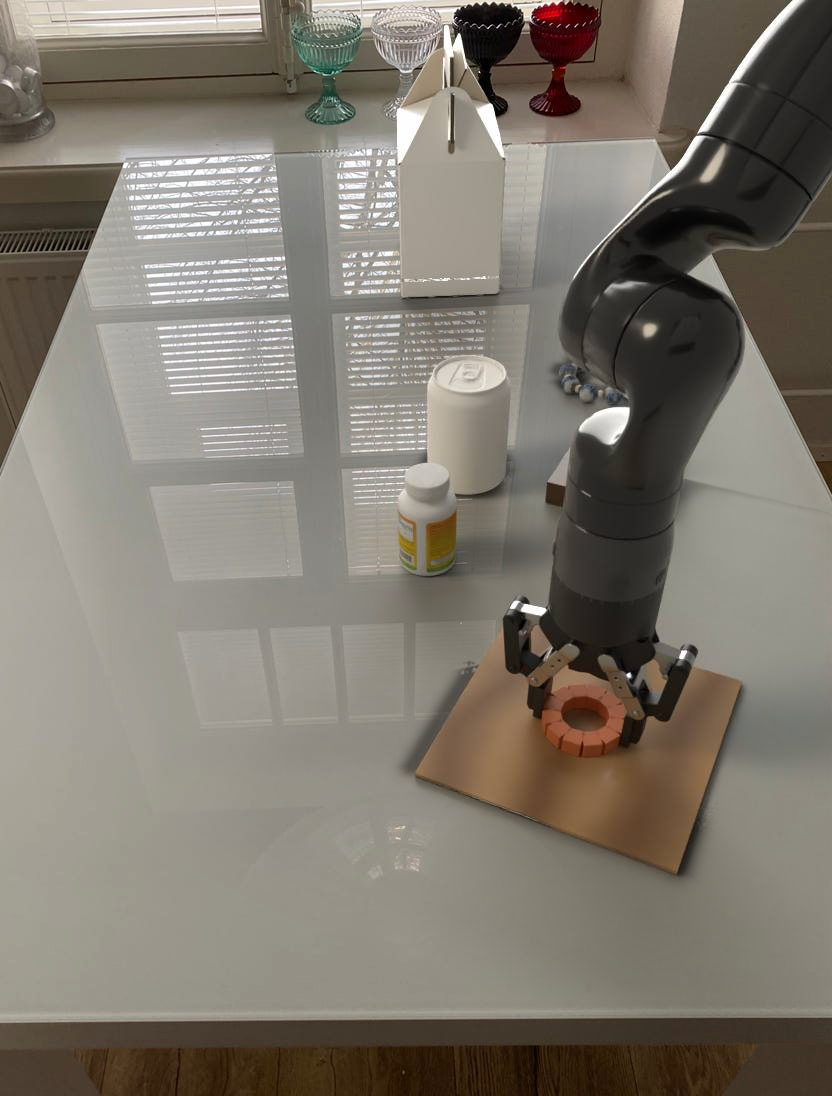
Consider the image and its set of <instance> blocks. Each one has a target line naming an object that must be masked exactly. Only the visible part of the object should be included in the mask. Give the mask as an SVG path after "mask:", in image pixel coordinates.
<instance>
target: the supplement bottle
mask: <svg viewBox="0 0 832 1096" xmlns="http://www.w3.org/2000/svg"><path fill="white" fill-rule="evenodd" d="M449 486H450V475H449V472H448V470H447V469H446V468H445V467H443V466H441V465H438V464H435V463H427V462H422V463H418V464H414V465H412V466H411V467H408V469H407V470H406V471H405V473H404V488H403V489H402V490H401V491H400V493H399V495H398V498H397V530H398V531H397V532H398V556H399V557H398V558H399V562H400V564H401V566H402V567H403V568H404V570H406V571H408V572H409V573H410V574H413V575H416V576H421V577H432V576H438V575H441V574H444V573H446V572H447V571H449V570H450V569H451V568H452V567H453V565H454V564H455V561H456V557H457V521H458V520H457V517H458V516H457V515H458V514H457V513H458V502H457V501H458V500H457V497H456V494H455V493H454V492H453V491H452V490H451V489H450V488H449Z"/></svg>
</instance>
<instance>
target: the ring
mask: <svg viewBox="0 0 832 1096" xmlns="http://www.w3.org/2000/svg"><path fill="white" fill-rule="evenodd" d="M574 708H586V709H589V710H592V711H595V712H597V713H598V714H600V715H601V716H602V717H603V718H604V719H605V721H606V726H605V727H603V728H601V729H600V730H598V731H596V732H582V731H579V730H576V729H573V728H571V727H570V726H568V725H567V724H566V723H565V722H564V721H563V718H562V715H563V714H564V713H566V712H567V711H569V710H571V709H574ZM625 714H626V710H625V707H624V705H622V702H621V701H620V700H619V699H618V698H617V697H616V696H614V695H613V694H612V693H611V692H608V693H606V689H603V688H600V687H597V686H593V685H590V684H589V686H588V688H587V687H586V684H577V685H568V688H567V687H566V686H564V687H562V688H560V689H558V690H556V691H554V692H553V693H551V696H549V698H548V700H547V701H546V703H545V705H544V707H543V711H542V719H541V723H542V727H543V731H544V734H545V735H546V738H547V739H548V740H549V741H550V742H551V743H552V744H553V745H554V746H555V747H557V748H560V747H561V751H563V752H566V753H569V754H572V755H575V756H578V757H579V755H580V753H582V757H595V756H601V753H602V754H604V755H606V754H607V753H609V752H611V751H612V750H614V749H616V748H618V745H619V742H620V737H621V732H622V727H623V722H624V717H625Z"/></svg>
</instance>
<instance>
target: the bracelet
mask: <svg viewBox="0 0 832 1096" xmlns="http://www.w3.org/2000/svg"><path fill="white" fill-rule="evenodd" d="M578 371H579V372H578ZM581 371H583V372H585V371H584V370H582V369H581V368H579V367H578V366H576V365H575V364H574V363H573V362H572V361H571V363H565V364H563V365H561V367H560V368H559V372H558V376H559V379H560V380H562V381H561V389H562V391H563V392H564V393H566V392H567V393H566V394H574V393H576V394H578V395H579V399H580V401H582V402H584V401H585V402H584V403H588V402H589V403H592V402H594V401H595V400H596V399H600V400H601V399H603V400H604V401H605V402H606V403H607V404H609V403H615V404H618V403H620V401H621V400H622V397H624V396H623V395H621V394H620V393H618V392H616V391H615V390H613V389H612V388H610V387H609V386H607V387H606V388H605V389H604V390H603V389H599V390H598V389H597V387H596V386H595V385H593V384H589V383H586V384H584V385H581V384H580V380H579V379H578V377H577V376H576V375H577V372H578V373H582V372H581ZM573 392H574V393H573ZM593 400H594V401H593Z"/></svg>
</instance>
